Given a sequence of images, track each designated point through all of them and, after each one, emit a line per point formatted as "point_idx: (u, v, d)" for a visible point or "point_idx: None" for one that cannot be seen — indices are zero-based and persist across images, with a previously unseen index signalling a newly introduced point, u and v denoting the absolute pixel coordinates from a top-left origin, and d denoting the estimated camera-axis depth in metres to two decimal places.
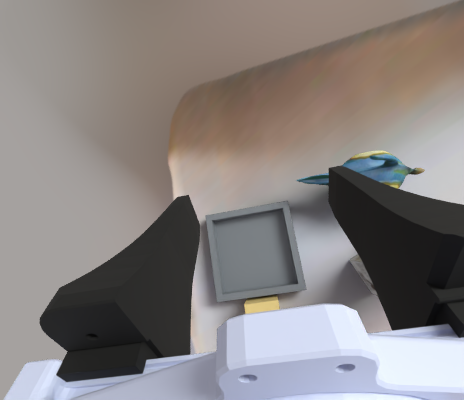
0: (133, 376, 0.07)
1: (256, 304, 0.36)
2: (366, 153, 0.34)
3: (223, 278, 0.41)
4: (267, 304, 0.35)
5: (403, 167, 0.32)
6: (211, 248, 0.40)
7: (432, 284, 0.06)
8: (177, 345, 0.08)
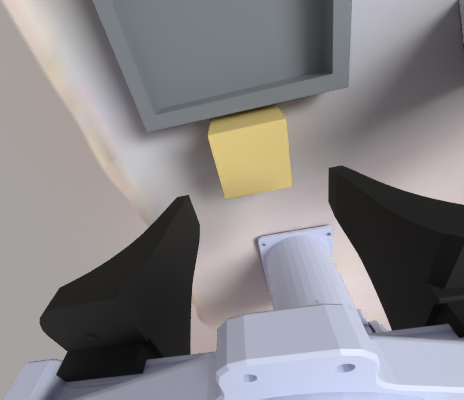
0: (133, 376, 0.07)
1: (236, 132, 0.15)
2: None
3: (152, 75, 0.17)
4: (260, 131, 0.15)
5: None
6: None
7: (432, 284, 0.06)
8: (177, 345, 0.08)
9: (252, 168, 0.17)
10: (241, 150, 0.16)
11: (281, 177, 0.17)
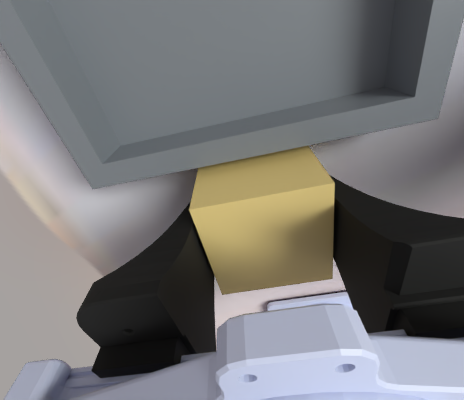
0: None
1: (240, 205, 0.08)
2: None
3: (99, 95, 0.10)
4: (286, 202, 0.08)
5: None
6: None
7: (388, 290, 0.06)
8: (206, 341, 0.08)
9: (268, 255, 0.10)
10: (249, 231, 0.09)
11: (315, 267, 0.10)
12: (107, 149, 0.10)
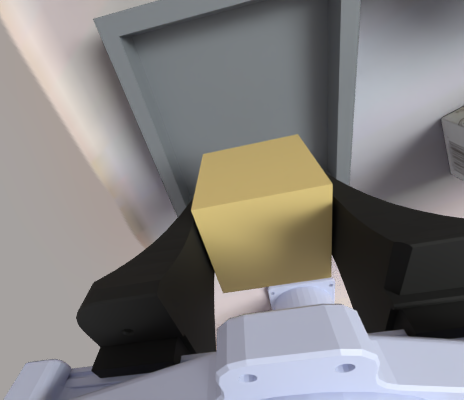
0: None
1: (241, 205, 0.09)
2: None
3: (183, 173, 0.20)
4: (285, 203, 0.09)
5: None
6: (141, 121, 0.16)
7: (389, 290, 0.06)
8: (205, 341, 0.08)
9: (268, 254, 0.10)
10: (250, 231, 0.09)
11: (314, 266, 0.11)
12: (186, 199, 0.21)
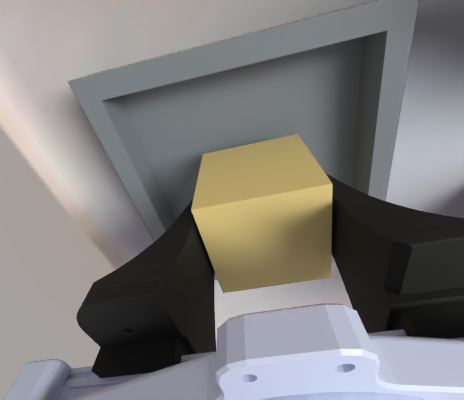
0: None
1: (241, 205, 0.09)
2: None
3: None
4: (285, 203, 0.09)
5: None
6: (132, 190, 0.13)
7: (388, 290, 0.06)
8: (206, 341, 0.08)
9: (268, 254, 0.10)
10: (250, 230, 0.09)
11: (314, 265, 0.11)
12: None
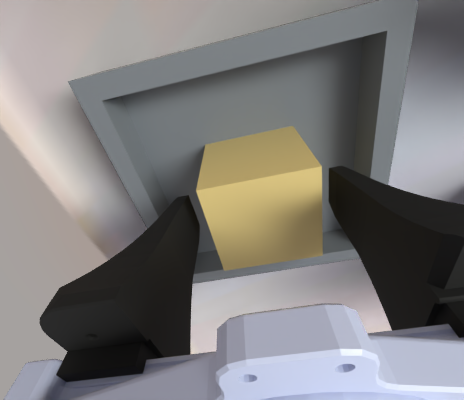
0: (133, 376, 0.07)
1: (241, 186, 0.10)
2: None
3: None
4: (280, 184, 0.10)
5: None
6: (132, 190, 0.13)
7: (432, 284, 0.06)
8: (177, 345, 0.08)
9: (265, 233, 0.11)
10: (249, 210, 0.10)
11: (307, 244, 0.12)
12: None
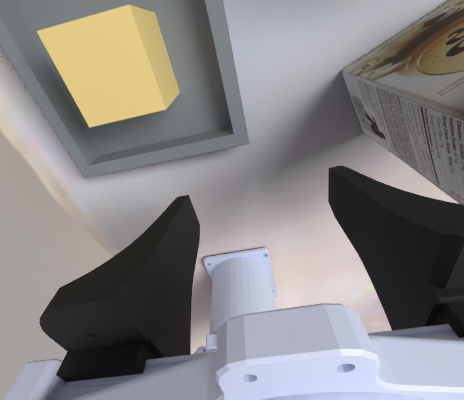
0: (133, 376, 0.07)
1: (71, 26, 0.12)
2: None
3: (87, 130, 0.20)
4: (102, 24, 0.12)
5: None
6: (17, 66, 0.16)
7: (432, 284, 0.06)
8: (177, 345, 0.08)
9: (109, 82, 0.14)
10: (86, 54, 0.13)
11: (148, 95, 0.14)
12: (91, 157, 0.20)
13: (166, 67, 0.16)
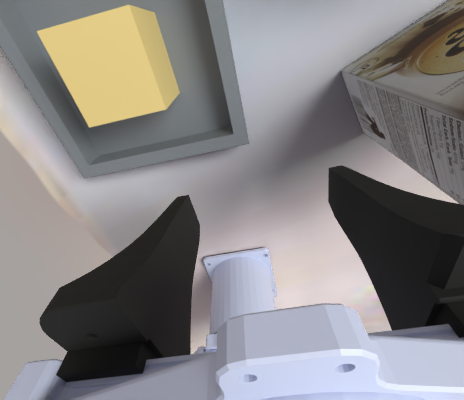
0: (133, 376, 0.07)
1: (71, 26, 0.12)
2: None
3: (87, 130, 0.20)
4: (102, 24, 0.12)
5: None
6: (17, 66, 0.16)
7: (432, 284, 0.06)
8: (177, 345, 0.08)
9: (109, 82, 0.14)
10: (86, 54, 0.13)
11: (148, 95, 0.14)
12: (91, 157, 0.20)
13: (166, 67, 0.16)
